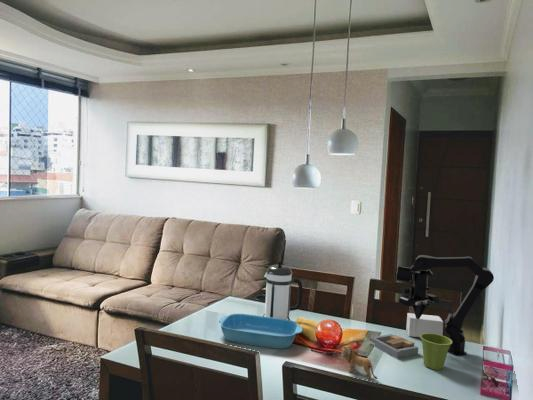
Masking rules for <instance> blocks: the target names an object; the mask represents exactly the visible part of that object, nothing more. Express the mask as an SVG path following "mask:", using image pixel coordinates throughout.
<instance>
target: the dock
mask: <svg viewBox="0 0 533 400" xmlns="http://www.w3.org/2000/svg"><path fill="white" fill-rule="evenodd" d="M393 335H394V334H392V333H390V334H383V335H377V336H369V337H368V338H369V339H368V341H369V340H370V341H372V342H373V343H375V348H377V349H378V350H380V351H382V352H383V353H385V354H386V355H389V356H391V357H393V358H394V359H396V360H399V359H400V358H406V357H412V356H417V355H419V347H418V346H417V345H414V346H413V347H408V348H402V349H395V348H393V347H391V346H389V345H387V344H386V341H390V336H393Z"/></svg>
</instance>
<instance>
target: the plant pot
mask: <svg viewBox="0 0 533 400" xmlns="http://www.w3.org/2000/svg"><path fill="white" fill-rule="evenodd" d="M419 338H420V339H421V344H422V357H423V358H422V359H423V365H424V367H426V368H430V369H431V370H436V371H441V370H442V369H444V367H445V363H446V360H447V355H448V353H449V352H448V349H449V348H450V344H452V340H451V339H449V338H448V336H445V335H443V334H442V335H439V334H433V333H424V334H421V335H420V337H419Z"/></svg>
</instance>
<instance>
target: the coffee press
mask: <svg viewBox="0 0 533 400" xmlns="http://www.w3.org/2000/svg"><path fill="white" fill-rule="evenodd" d="M292 275H293V271H292V268H291V267H290V266H287V265H284V264H283V261H282V260H278V261H277V264H273V265H269V267H267V269H266V272H265V274H264V276H263V277H264V278H266V280H265V282H266V287H265V306H264V307H265V308H264V313H263V315H262V316H264V317H272V318H279V319H286V320H291V318H290V312H292V311H293V312H294V311H297V310H298V309H300V307H301V305H302V303H303V302H302V298H303V283H302V281H301V280H300V279H298V278H295V277H294V278H292V277H293V276H292ZM292 283H297V286H298V293H297V303H296V304H295V306H291V290H292Z"/></svg>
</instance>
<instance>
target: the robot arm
mask: <svg viewBox="0 0 533 400" xmlns="http://www.w3.org/2000/svg"><path fill="white" fill-rule="evenodd" d="M446 267H447V268H449V267H450V268H451V267H453V268H457V267H461V268H462V267H465V268H468V269H469V270H470V271H471V272H472V273H474V274H475V277H474V280H473V283H472V286H471V287H470V289H469V290H468V292H467V293H466V295H465V297H464V298H463V299H462V300H463V301H462V302H461V303H460V305H459V307H458V308H457V310H456V311H455V312H454V313H453V314H452V313H448V316H447V317H446V319H444V329H445V332H446V333H447V335H448V336H447V338H449V339H451V340H452V344H450V348H449V349H448V353H449V354H452V355H454V356H456V357H457V356H463V355H467V352H466V351H465V349H466V348H465V346H466V337H465V333H464V330H463V329H462V328H463V325H464V321H465V319H466V317H467V316H468V314H469V312H470V311H471V309H472V308H473V306H474V304H475V303H476V301H477V300H478V299H479V296H480V295H481V294H482V292H483V291H484V290H485V289H487V288H489V286H490V285H491V284H492V283H493V282H494V279H495V278H494V274H493V272H492V271H491V270H490V269H489V268H487V267H483V266H482V265H481V264H479V262H477V261H475V260H474V259H473V258H472V256H456V257H453V256H452V257H451V256H449V257H447V256H445V257H439V256H437V257H435V256H431V255H425V254H420V255H417V257H416V258H415V262H414V263H413V264H412V265H411V266H410V267H408V266H402V265H397V272H396V282H403V283H410V282H412V281H413V284H411V285H410V288H407V286H401V287H400V291H399V292H400V294H401V296H399V299H398V303H399V304H400V305H401V304H402V305H404V306H407V307H412V309H413V313H414V314H415V316H416V319H419V318H420V317H421V315H424V312H425V311H426V310H427V308H429V306H430V304H429V303H428V302H431V301H432V303H433V304H439V301H440V298H439V296H437V295H435V294H432V293H428V291H430V287H428V280H429V276H431V277H433V274H434V273H433V272H432V271H431V269H435V268H446ZM402 295H403V296H402Z"/></svg>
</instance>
